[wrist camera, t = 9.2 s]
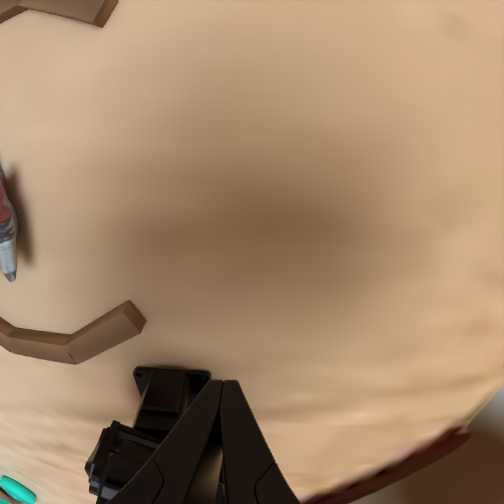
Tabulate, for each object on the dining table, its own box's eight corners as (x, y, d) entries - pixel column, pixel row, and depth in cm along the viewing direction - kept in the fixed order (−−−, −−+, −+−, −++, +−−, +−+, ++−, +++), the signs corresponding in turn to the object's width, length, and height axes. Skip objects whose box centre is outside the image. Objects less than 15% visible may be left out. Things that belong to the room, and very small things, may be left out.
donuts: (-15, 499, 33) (22, 522, 35) (-2, 469, 43) (34, 490, 44) (-5, 510, 37) (29, 529, 39) (6, 482, 46) (39, 501, 48)
